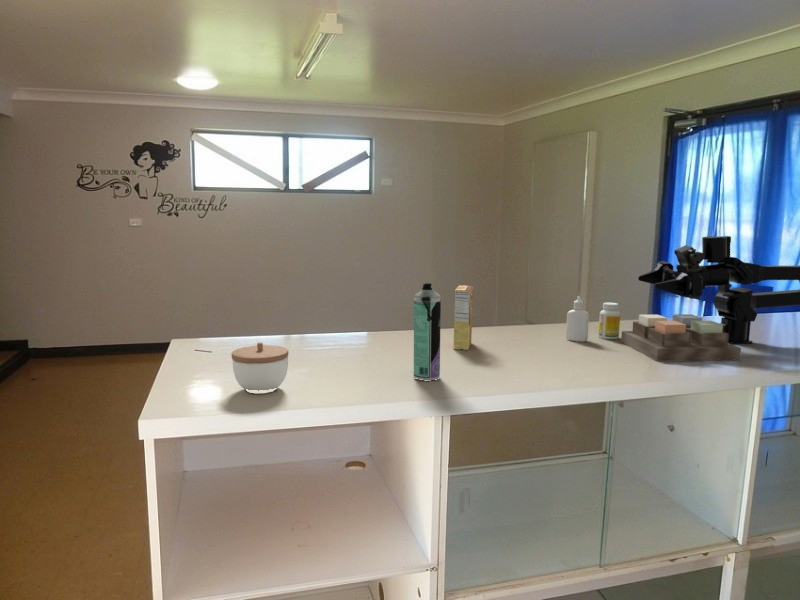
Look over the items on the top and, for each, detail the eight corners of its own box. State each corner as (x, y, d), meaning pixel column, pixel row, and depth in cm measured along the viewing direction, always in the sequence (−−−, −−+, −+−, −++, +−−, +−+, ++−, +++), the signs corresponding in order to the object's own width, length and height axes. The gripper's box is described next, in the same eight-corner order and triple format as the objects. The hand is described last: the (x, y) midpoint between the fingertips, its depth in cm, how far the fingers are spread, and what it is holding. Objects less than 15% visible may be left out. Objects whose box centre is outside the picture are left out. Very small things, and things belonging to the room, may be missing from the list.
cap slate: (690, 325, 154) (691, 314, 154) (701, 329, 149) (702, 317, 149) (672, 325, 154) (672, 314, 154) (681, 329, 149) (682, 317, 149)
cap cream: (657, 325, 154) (657, 314, 153) (666, 329, 149) (667, 317, 149) (638, 325, 154) (639, 314, 153) (647, 329, 149) (647, 318, 148)
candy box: (456, 342, 157) (457, 285, 155) (472, 342, 156) (473, 285, 154) (453, 349, 149) (454, 289, 146) (469, 350, 148) (471, 290, 145)
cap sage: (709, 332, 145) (711, 320, 145) (721, 336, 140) (722, 324, 140) (690, 332, 145) (691, 320, 145) (701, 337, 140) (702, 324, 140)
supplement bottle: (594, 337, 164) (596, 303, 162) (605, 334, 167) (607, 301, 165) (612, 340, 159) (614, 305, 158) (622, 337, 163) (624, 303, 161)
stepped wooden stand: (694, 341, 158) (695, 319, 157) (739, 360, 138) (742, 335, 137) (621, 342, 157) (622, 320, 156) (656, 361, 138) (658, 335, 137)
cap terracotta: (674, 332, 145) (675, 320, 145) (684, 337, 140) (685, 324, 140) (654, 333, 145) (655, 321, 144) (664, 337, 140) (665, 324, 139)
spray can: (443, 380, 121) (444, 284, 118) (418, 382, 120) (419, 285, 117) (434, 373, 127) (435, 281, 124) (410, 375, 125) (410, 282, 122)
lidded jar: (268, 401, 108) (266, 351, 107) (221, 394, 112) (219, 346, 111) (299, 385, 118) (298, 339, 116) (255, 379, 122) (254, 335, 121)
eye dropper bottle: (576, 337, 163) (578, 294, 161) (590, 341, 158) (592, 297, 156) (563, 338, 161) (565, 295, 160) (577, 343, 156) (579, 298, 155)
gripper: (686, 240, 162) (631, 246, 162) (727, 252, 144) (664, 258, 144) (684, 280, 165) (630, 285, 165) (724, 296, 147) (663, 302, 147)
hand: (646, 282), depth 155 cm, fingers open, 9 cm apart
